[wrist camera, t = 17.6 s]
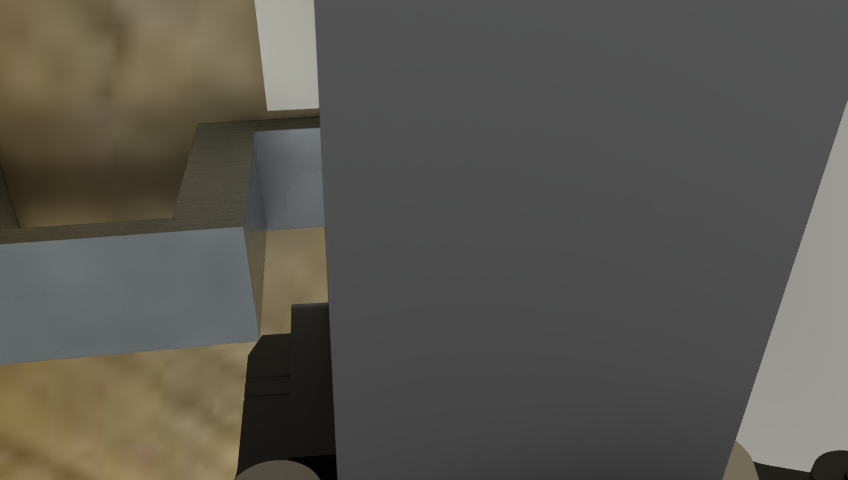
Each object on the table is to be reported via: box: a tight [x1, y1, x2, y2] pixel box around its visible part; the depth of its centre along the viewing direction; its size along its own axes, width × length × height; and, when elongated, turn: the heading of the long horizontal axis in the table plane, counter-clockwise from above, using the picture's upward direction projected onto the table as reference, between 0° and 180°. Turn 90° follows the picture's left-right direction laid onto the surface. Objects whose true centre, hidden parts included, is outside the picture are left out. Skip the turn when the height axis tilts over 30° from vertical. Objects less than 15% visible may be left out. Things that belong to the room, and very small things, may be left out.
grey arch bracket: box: [0, 117, 325, 364], centre depth 25 cm, size 17×4×8 cm, turn 90°
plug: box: [314, 0, 848, 480], centre depth 10 cm, size 4×13×6 cm, turn 179°
